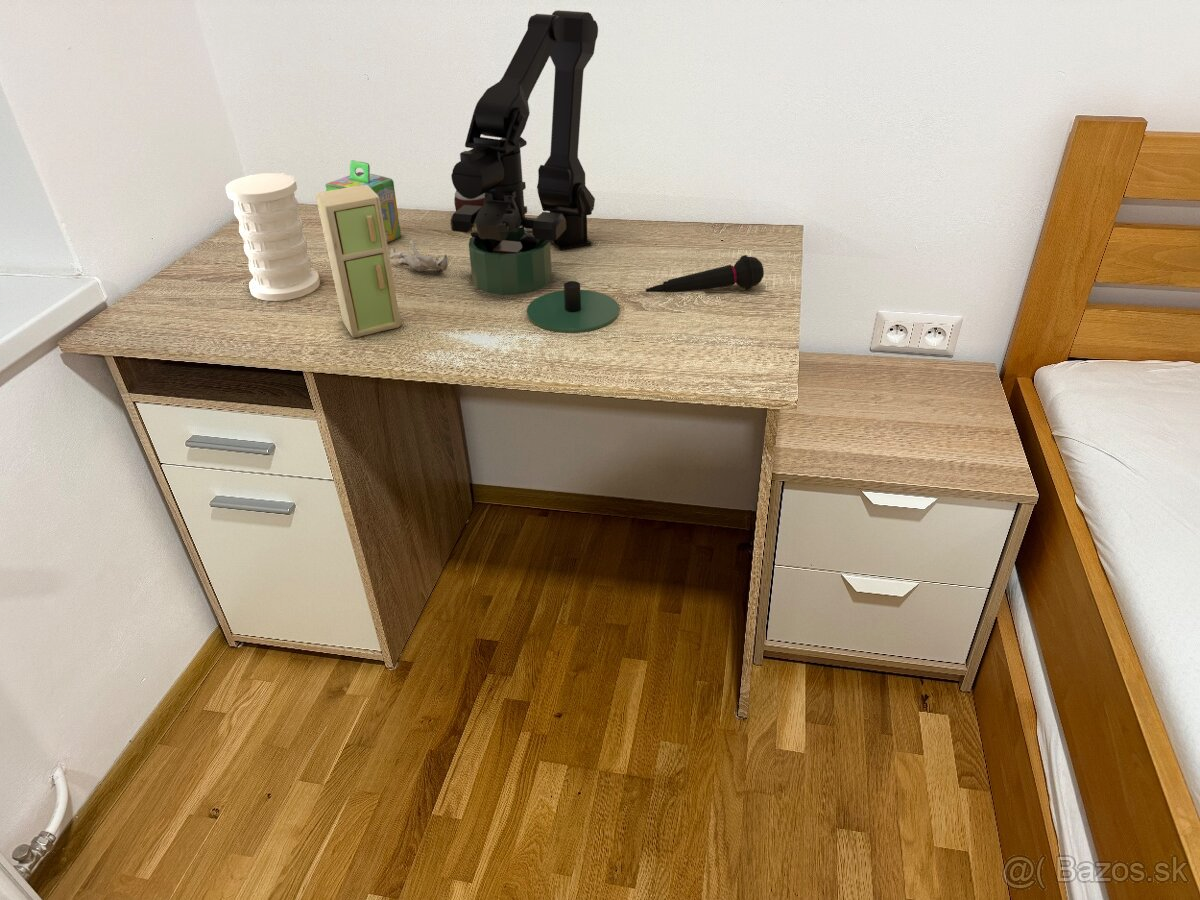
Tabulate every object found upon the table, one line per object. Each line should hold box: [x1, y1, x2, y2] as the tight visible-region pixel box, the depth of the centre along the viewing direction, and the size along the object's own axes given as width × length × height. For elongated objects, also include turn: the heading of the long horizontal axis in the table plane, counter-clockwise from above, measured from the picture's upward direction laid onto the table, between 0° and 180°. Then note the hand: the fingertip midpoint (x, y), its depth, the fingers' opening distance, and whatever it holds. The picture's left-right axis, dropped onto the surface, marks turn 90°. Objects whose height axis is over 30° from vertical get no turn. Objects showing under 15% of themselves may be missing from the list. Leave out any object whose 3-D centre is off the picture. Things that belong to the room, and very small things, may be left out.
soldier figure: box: [389, 240, 449, 273], centre depth 153 cm, size 8×5×12 cm
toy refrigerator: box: [315, 185, 402, 339], centre depth 131 cm, size 8×7×21 cm
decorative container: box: [225, 172, 321, 302], centre depth 145 cm, size 12×12×18 cm
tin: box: [468, 229, 553, 296], centre depth 148 cm, size 14×14×8 cm
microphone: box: [645, 254, 765, 293], centre depth 145 cm, size 6×6×20 cm
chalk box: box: [325, 160, 402, 244], centre depth 163 cm, size 9×9×15 cm
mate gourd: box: [453, 189, 485, 212], centre depth 168 cm, size 8×8×15 cm
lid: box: [526, 280, 620, 334], centre depth 137 cm, size 15×15×5 cm
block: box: [492, 240, 522, 254], centre depth 148 cm, size 5×5×5 cm
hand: (512, 270), depth 149 cm, fingers closed on block, 5 cm apart
